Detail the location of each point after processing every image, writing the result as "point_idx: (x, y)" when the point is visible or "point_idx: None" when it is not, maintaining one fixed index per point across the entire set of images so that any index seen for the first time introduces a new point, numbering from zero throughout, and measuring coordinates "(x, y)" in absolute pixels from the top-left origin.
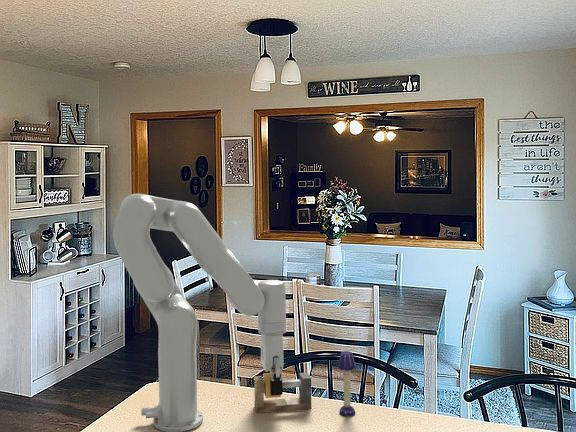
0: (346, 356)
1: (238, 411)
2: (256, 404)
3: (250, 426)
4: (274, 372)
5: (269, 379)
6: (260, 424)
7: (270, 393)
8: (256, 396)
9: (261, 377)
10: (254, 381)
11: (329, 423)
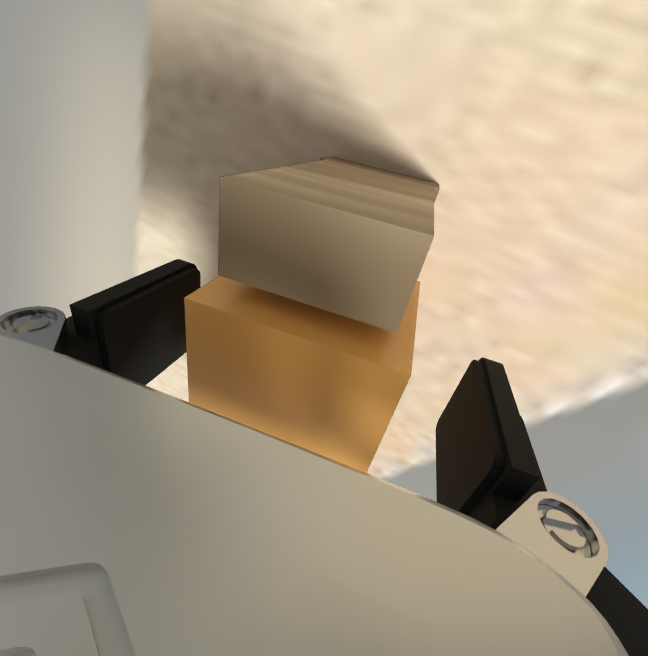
0: None
1: (417, 9)
2: (319, 161)
3: (160, 37)
4: (441, 483)
5: (188, 335)
6: (178, 119)
7: (184, 263)
8: (296, 164)
9: (342, 305)
10: (426, 217)
11: (157, 386)
